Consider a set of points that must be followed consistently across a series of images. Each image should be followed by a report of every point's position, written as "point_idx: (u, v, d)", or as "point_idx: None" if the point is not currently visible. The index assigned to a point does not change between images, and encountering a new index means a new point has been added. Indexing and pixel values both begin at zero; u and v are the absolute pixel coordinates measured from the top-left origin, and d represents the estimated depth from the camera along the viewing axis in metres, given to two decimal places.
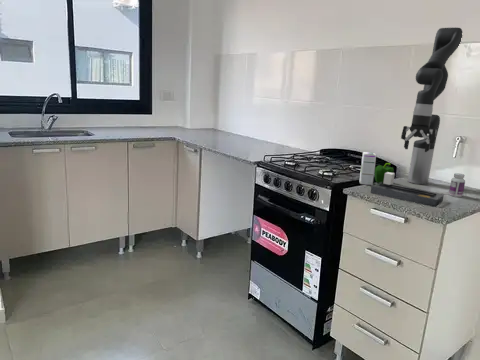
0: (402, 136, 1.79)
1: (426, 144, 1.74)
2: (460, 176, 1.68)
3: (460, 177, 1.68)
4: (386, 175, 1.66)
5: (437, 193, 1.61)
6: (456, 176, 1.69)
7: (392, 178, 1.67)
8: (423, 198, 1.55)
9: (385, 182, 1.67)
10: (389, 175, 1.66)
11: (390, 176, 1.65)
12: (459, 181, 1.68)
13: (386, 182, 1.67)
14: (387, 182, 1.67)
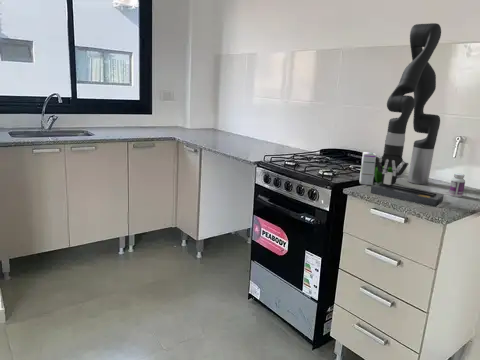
0: (379, 169, 1.69)
1: (392, 176, 1.66)
2: (460, 176, 1.68)
3: (460, 177, 1.68)
4: (386, 175, 1.66)
5: (437, 193, 1.61)
6: (456, 176, 1.69)
7: None
8: (423, 198, 1.55)
9: (385, 182, 1.67)
10: (389, 175, 1.66)
11: (390, 176, 1.65)
12: (459, 181, 1.68)
13: (386, 182, 1.67)
14: (387, 182, 1.67)
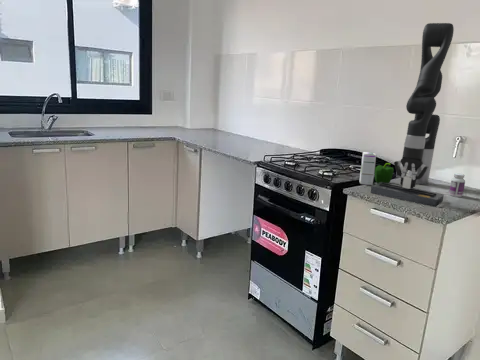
0: (398, 172, 1.64)
1: (412, 180, 1.61)
2: (460, 176, 1.68)
3: (460, 177, 1.68)
4: (405, 179, 1.62)
5: (437, 193, 1.61)
6: (456, 176, 1.69)
7: None
8: (423, 198, 1.55)
9: (404, 185, 1.62)
10: (408, 179, 1.61)
11: (409, 180, 1.61)
12: (459, 181, 1.68)
13: (405, 186, 1.62)
14: (406, 186, 1.62)
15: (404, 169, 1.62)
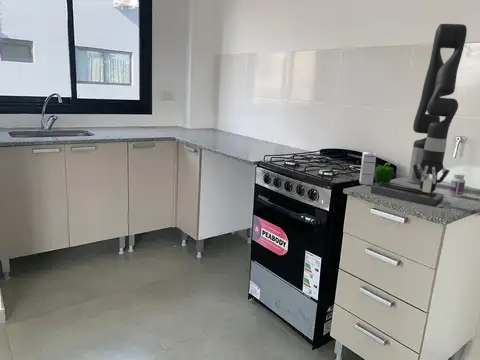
0: (418, 176, 1.59)
1: (432, 184, 1.56)
2: (460, 176, 1.68)
3: (460, 177, 1.68)
4: (425, 182, 1.57)
5: (437, 193, 1.61)
6: (456, 176, 1.69)
7: None
8: (423, 198, 1.55)
9: (424, 189, 1.58)
10: (429, 182, 1.56)
11: (430, 184, 1.56)
12: (459, 181, 1.68)
13: (425, 190, 1.58)
14: (426, 190, 1.57)
15: (424, 173, 1.57)
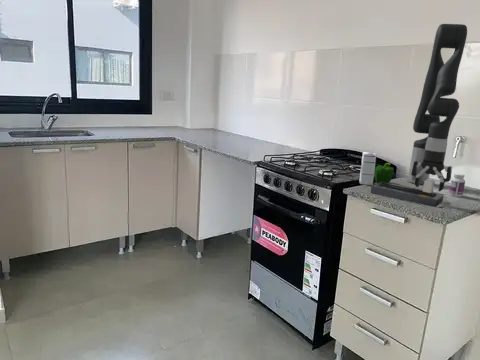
0: (412, 172, 1.60)
1: (440, 183, 1.55)
2: (460, 176, 1.68)
3: (460, 177, 1.68)
4: (426, 183, 1.57)
5: (437, 193, 1.61)
6: (456, 176, 1.69)
7: (432, 186, 1.57)
8: (423, 198, 1.55)
9: (425, 190, 1.58)
10: (429, 183, 1.56)
11: (430, 184, 1.56)
12: (459, 181, 1.68)
13: (426, 190, 1.57)
14: (427, 190, 1.57)
15: (422, 171, 1.57)
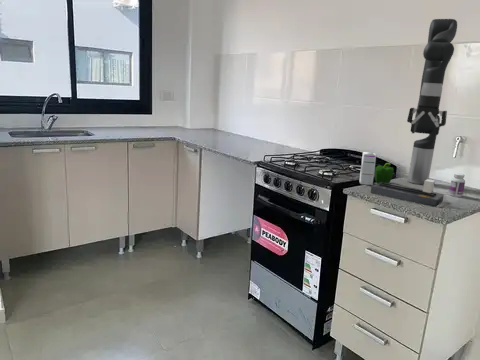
0: (408, 119, 1.64)
1: (435, 127, 1.58)
2: (460, 176, 1.68)
3: (460, 177, 1.68)
4: (426, 183, 1.57)
5: (437, 193, 1.61)
6: (456, 176, 1.69)
7: (432, 186, 1.57)
8: (423, 198, 1.55)
9: (425, 190, 1.58)
10: (429, 183, 1.56)
11: (430, 184, 1.56)
12: (459, 181, 1.68)
13: (426, 190, 1.57)
14: (427, 190, 1.57)
15: (418, 117, 1.61)
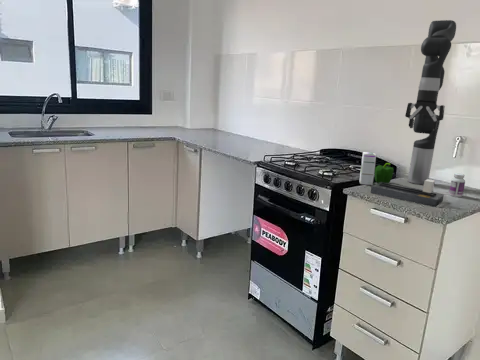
0: (406, 114, 1.65)
1: (433, 122, 1.59)
2: (460, 176, 1.68)
3: (460, 177, 1.68)
4: (426, 183, 1.57)
5: (437, 193, 1.61)
6: (456, 176, 1.69)
7: (432, 186, 1.57)
8: (423, 198, 1.55)
9: (425, 190, 1.58)
10: (429, 183, 1.56)
11: (430, 184, 1.56)
12: (459, 181, 1.68)
13: (426, 190, 1.57)
14: (427, 190, 1.57)
15: (416, 111, 1.62)
